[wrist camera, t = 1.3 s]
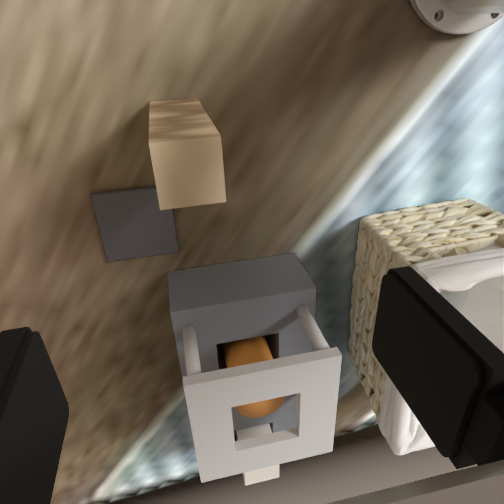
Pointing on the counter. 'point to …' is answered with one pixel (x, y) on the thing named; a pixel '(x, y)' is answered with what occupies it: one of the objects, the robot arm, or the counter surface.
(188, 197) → the wooden rectangular block
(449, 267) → the storage basket
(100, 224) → the pad
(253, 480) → the on button
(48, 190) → the counter surface
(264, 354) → the plunger
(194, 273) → the grey housing
